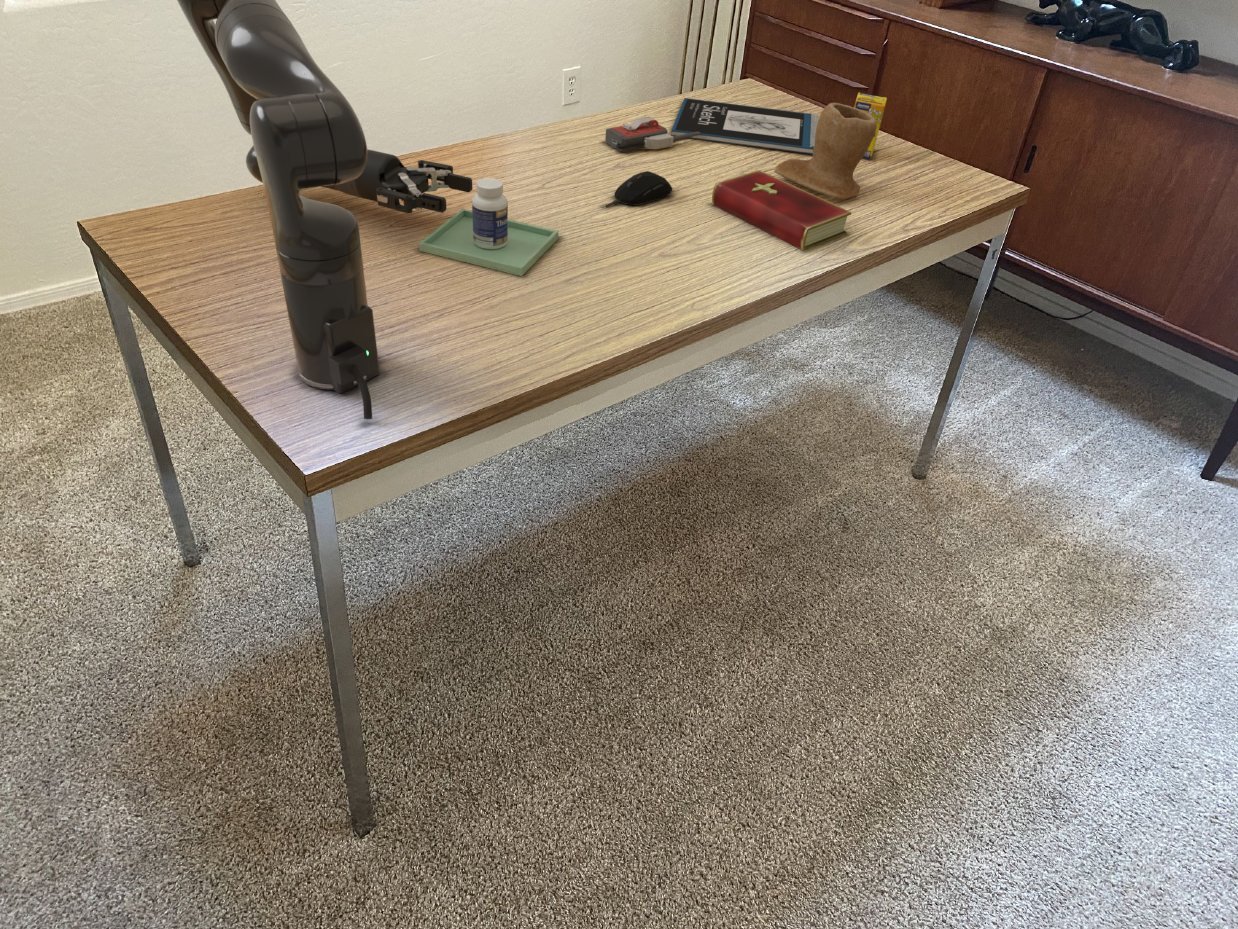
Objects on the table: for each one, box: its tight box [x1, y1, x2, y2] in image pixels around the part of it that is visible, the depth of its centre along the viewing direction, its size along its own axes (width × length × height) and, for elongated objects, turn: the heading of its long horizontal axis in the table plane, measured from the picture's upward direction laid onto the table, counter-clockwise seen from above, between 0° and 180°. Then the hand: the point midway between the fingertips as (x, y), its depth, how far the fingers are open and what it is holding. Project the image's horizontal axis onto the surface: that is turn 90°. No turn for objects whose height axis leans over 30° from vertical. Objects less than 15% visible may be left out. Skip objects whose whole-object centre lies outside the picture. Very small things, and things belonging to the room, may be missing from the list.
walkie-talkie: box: [604, 116, 700, 153], centre depth 179 cm, size 9×4×20 cm
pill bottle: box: [471, 177, 509, 249], centre depth 138 cm, size 5×5×10 cm
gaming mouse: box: [605, 170, 673, 208], centre depth 158 cm, size 6×15×4 cm, turn 133°
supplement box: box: [853, 92, 888, 161], centre depth 181 cm, size 6×6×11 cm
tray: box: [418, 208, 559, 277], centre depth 141 cm, size 17×14×1 cm
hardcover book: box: [711, 169, 853, 252], centre depth 155 cm, size 12×21×4 cm, turn 42°
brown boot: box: [773, 102, 877, 200], centre depth 165 cm, size 15×12×15 cm
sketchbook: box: [670, 97, 820, 156], centre depth 191 cm, size 22×30×2 cm
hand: (458, 195), depth 138 cm, fingers open, 8 cm apart
